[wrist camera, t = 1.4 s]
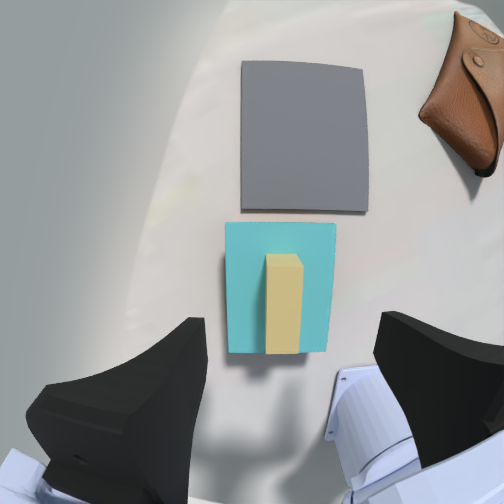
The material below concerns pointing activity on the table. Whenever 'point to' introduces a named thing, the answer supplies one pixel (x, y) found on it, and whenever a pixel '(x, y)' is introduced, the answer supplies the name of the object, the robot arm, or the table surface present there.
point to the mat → (303, 137)
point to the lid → (279, 286)
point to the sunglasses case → (470, 96)
